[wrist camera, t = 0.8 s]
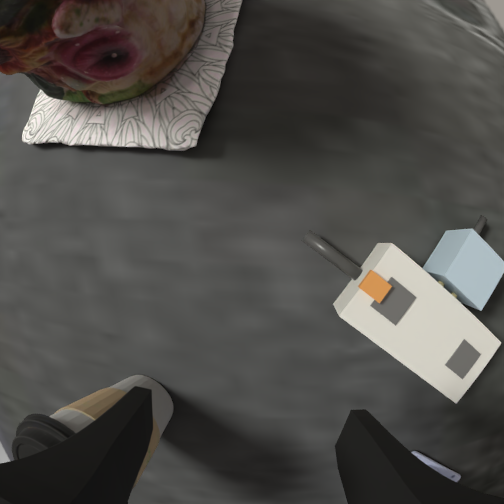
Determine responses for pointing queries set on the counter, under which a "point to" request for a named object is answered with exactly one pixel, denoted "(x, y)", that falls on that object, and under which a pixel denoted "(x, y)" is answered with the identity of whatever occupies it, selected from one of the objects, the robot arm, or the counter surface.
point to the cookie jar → (118, 67)
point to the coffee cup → (90, 419)
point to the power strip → (411, 317)
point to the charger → (466, 265)
